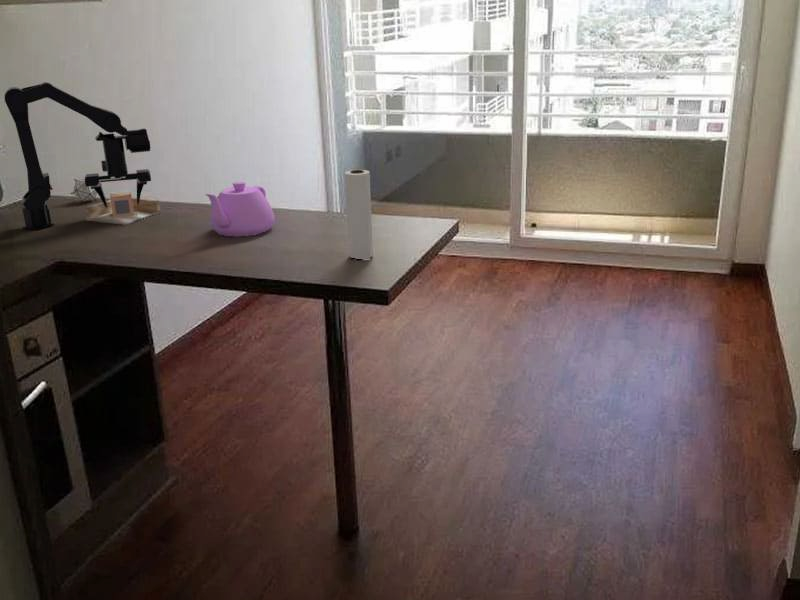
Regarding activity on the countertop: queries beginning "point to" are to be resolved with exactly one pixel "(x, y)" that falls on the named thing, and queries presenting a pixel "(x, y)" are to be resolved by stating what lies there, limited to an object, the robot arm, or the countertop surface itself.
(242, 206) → the teapot
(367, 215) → the paper towel roll
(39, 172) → the robot arm
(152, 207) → the tray
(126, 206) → the cube
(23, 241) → the countertop surface
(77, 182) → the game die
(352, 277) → the countertop surface
